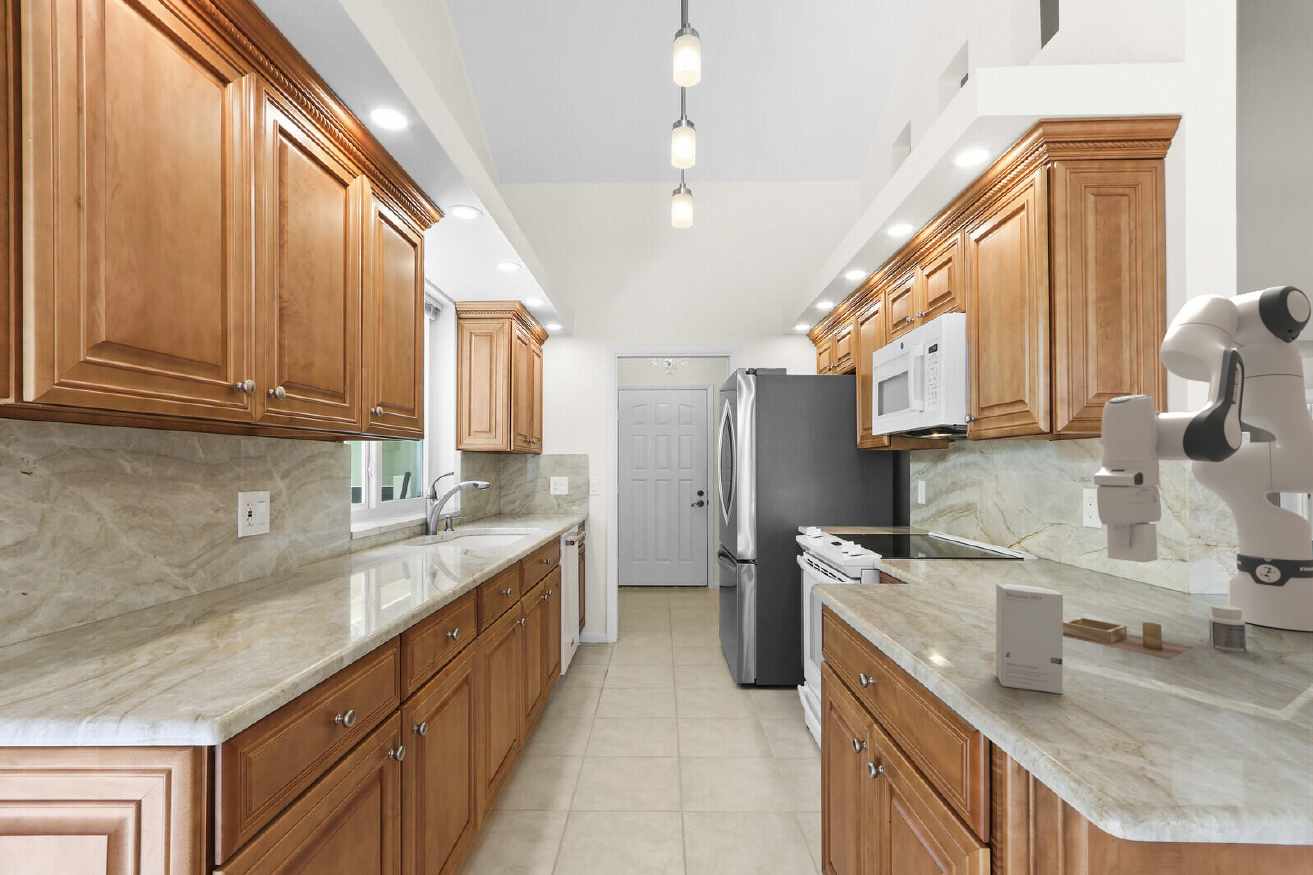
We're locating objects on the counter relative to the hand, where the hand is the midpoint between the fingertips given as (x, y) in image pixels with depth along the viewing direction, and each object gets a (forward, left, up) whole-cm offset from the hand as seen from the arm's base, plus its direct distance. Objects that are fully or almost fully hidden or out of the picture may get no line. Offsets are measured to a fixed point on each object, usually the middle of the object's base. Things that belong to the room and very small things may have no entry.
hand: (1132, 546), depth 118 cm
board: (+9, +1, -18) cm, 20 cm away
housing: (0, 0, -2) cm, 2 cm away
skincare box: (+44, +1, -18) cm, 48 cm away
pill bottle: (-2, +13, -18) cm, 22 cm away
